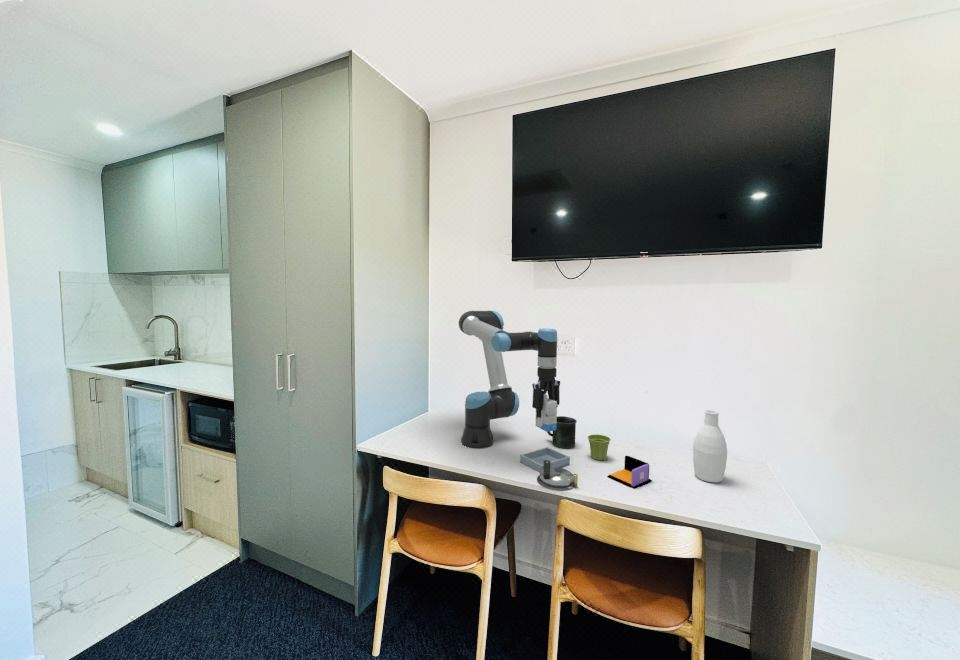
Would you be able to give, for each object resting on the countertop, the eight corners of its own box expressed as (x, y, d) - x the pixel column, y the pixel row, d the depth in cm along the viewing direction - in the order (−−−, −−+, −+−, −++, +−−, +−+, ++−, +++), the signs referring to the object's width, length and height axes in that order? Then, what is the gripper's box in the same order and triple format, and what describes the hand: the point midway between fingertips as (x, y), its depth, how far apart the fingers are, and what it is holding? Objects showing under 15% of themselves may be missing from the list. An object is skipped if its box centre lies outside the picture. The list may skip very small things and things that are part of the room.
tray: (520, 463, 152) (520, 454, 152) (547, 454, 161) (547, 447, 161) (541, 474, 142) (541, 466, 142) (569, 465, 151) (569, 456, 151)
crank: (555, 469, 144) (556, 449, 143) (580, 481, 134) (581, 460, 133) (532, 477, 137) (532, 456, 136) (556, 491, 127) (557, 468, 126)
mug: (571, 451, 165) (572, 425, 165) (541, 444, 173) (541, 419, 172) (579, 443, 174) (579, 418, 174) (550, 437, 182) (550, 413, 182)
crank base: (529, 480, 137) (529, 467, 137) (555, 471, 145) (555, 458, 145) (557, 497, 125) (558, 482, 125) (584, 486, 133) (585, 472, 133)
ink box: (557, 430, 147) (557, 394, 146) (546, 432, 145) (547, 395, 144) (545, 424, 155) (545, 389, 154) (534, 425, 153) (535, 390, 152)
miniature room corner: (653, 482, 138) (654, 464, 137) (634, 490, 131) (635, 472, 131) (624, 470, 148) (625, 453, 147) (605, 477, 141) (606, 460, 140)
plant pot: (583, 457, 158) (583, 438, 158) (593, 451, 165) (593, 432, 165) (604, 464, 152) (604, 443, 151) (613, 457, 159) (614, 437, 158)
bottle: (685, 470, 147) (688, 407, 146) (714, 471, 147) (717, 408, 145) (701, 484, 136) (705, 415, 134) (732, 484, 136) (736, 416, 134)
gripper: (536, 370, 140) (535, 430, 142) (569, 366, 151) (568, 422, 153) (523, 367, 147) (522, 425, 148) (556, 364, 157) (555, 417, 159)
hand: (545, 423), depth 150 cm, fingers closed on ink box, 5 cm apart
